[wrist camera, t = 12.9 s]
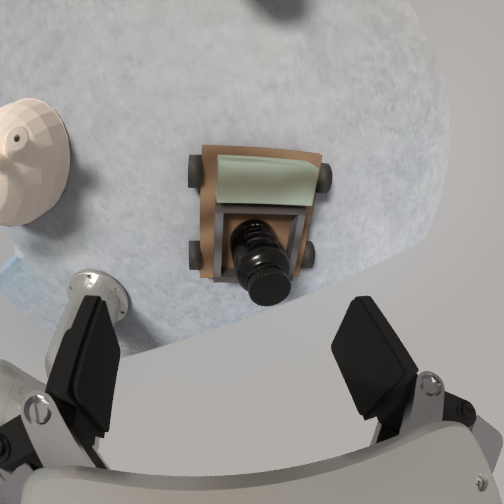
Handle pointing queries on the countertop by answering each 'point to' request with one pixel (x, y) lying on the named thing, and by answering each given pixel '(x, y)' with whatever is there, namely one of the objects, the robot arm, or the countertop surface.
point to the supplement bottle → (260, 262)
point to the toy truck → (254, 202)
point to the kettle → (31, 160)
